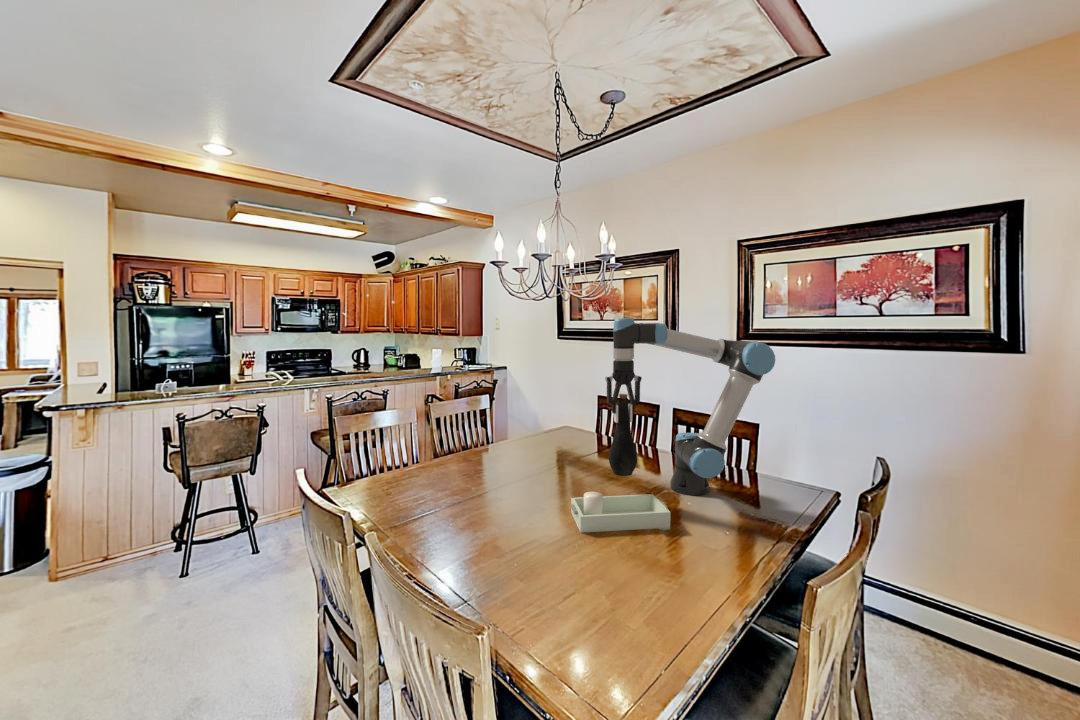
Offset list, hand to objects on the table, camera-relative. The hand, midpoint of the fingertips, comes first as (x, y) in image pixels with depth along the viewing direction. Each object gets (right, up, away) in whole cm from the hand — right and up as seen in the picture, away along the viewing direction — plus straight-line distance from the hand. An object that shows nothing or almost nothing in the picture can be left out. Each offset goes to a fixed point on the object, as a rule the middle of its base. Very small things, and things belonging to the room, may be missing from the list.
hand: (623, 421), depth 171 cm
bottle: (0, -20, +2) cm, 20 cm away
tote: (-4, -32, -15) cm, 36 cm away
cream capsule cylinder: (-13, -32, -16) cm, 38 cm away
